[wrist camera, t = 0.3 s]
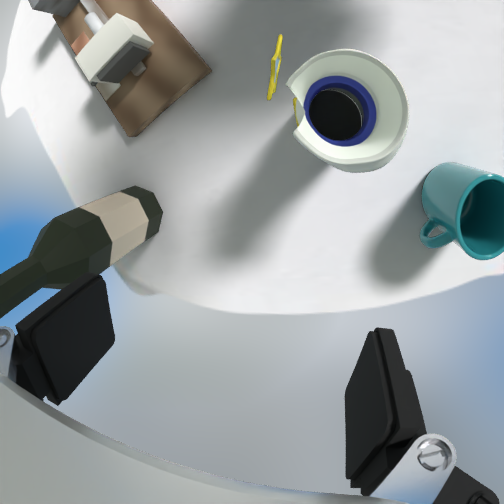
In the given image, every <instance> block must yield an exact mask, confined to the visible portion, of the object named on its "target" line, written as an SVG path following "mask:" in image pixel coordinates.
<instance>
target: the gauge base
mask: <svg viewBox="0 0 504 504" xmlns="http://www.w3.org/2000/svg"><path fill="white" fill-rule="evenodd" d="M28 1H29V3H30V5H31V7H32V9H34V10H38V11H43V12H47V13H51V14H53V18H54V19H55V21H56V23H57V25H58V26H59V28H60V30H61V31H62V33H63V35H64V36H65V38H66V40H67V41H68V43H69V45H70V46H71V48H72V49H73V51H74V53H75V54H76V56H77V55H78V54H79V52H80V51H81V50H82V49H83V48H84V46H85V45H86V44H87V43H88V42H89V41H90V40H91V39H92V37H93V36H94V34H93V32H92V31H91V29H90V28H89V26H88V25H87V24H86V22H85V21H84V18H85V16H86V15H87V14H89V13H91V12H94V13H96V15H97V16H98V17H99V19H100V20H101V22H102V23H103V24H104V25H105V24H106V23H107V22H108V21H109V20H110V19H111V18H112V17H113V16H114V15H115V14H116V13H118V14H120V15H122V16H125V17H127V18H129V19H131V20H133V21H135V22H137V23H138V24H139V25H140V27H141V28H142V29H143V30H144V31H145V33H146V34H147V35H148V36H149V38H150V39H151V40H152V41H153V43H154V44H153V45H152V46H151V47H150V48H149V49H148V50H149V51H150V53H149V54H148V55H147V56H146V57H145V58H144V59H142V60H141V61H140V62H139V63H138V64H137V65H136V66H135V67H134V68H133V69H132V70H131V71H130V72H129V73H128V74H127V75H126V76H125V77H124V78H123V79H122V80H121V81H120V82H119V83H113V84H107V83H99V82H98V83H97V84H96V88H97V89H98V91H99V92H100V94H101V95H102V97H103V99H104V100H105V102H106V103H107V105H108V106H109V108H110V109H111V111H112V112H113V114H114V115H115V117H116V118H117V120H118V121H119V123H120V124H121V126H122V127H123V129H124V130H125V132H126V133H127V135H128V136H129V137H135V136H137V135H139V134H140V133H141V132H142V131H143V130H144V129H145V128H146V127H147V126H148V125H149V124H150V123H151V122H152V121H153V120H154V119H155V118H157V117H158V116H159V115H160V114H161V113H162V112H163V111H164V110H165V109H167V108H168V107H169V106H170V105H171V104H172V103H173V102H175V101H176V100H177V99H178V98H179V97H180V96H182V95H183V94H184V93H185V92H186V91H188V90H189V89H190V88H191V87H193V86H194V85H195V84H196V83H198V82H199V81H200V80H201V79H203V78H204V77H205V76H206V75H208V74H209V73H210V72H212V70H211V69H210V68H209V66H208V65H207V64H206V63H205V61H204V60H203V59H202V58H201V57H200V55H199V54H198V53H197V52H196V50H195V49H194V48H193V47H192V46H191V44H190V43H189V42H188V41H187V40H186V39H185V37H184V36H183V35H182V34H181V33H180V32H179V30H178V29H177V28H176V27H175V26H174V25H173V24H172V22H171V21H170V20H169V19H168V18H167V17H166V16H165V15H164V13H163V12H162V11H161V10H160V9H159V8H158V7H157V6H156V5H155V4H154V3H153V1H152V0H28Z"/></svg>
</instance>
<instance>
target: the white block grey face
mask: <svg viewBox="0 0 504 504" xmlns="http://www.w3.org/2000/svg"><path fill="white" fill-rule="evenodd" d="M84 21H85V22H86V24H87V25H88V26H89V28H90V29H91V31H92V32H93V34H94V36H93V37H92V39H91V40H90V41H89V42H88V43H87V44H86V45H85V46H84V48H83V49H82V50H81V51H80V52H79V54H78V55H77V56H76V57H75V59H76V61H77V63H78V64H79V66H80V68H81V69H82V71H83V72H84V74H85V76H86V77H87V79H88V80H89V81H91V85H92V86H96V84H97V83H98V82H99V83H107V84H113V83H119V82H120V81H121V80H122V79H123V78H124V77H125V76H126V75H127V74H128V73H129V72H130V71H131V70H132V69H133V68H134V67H135V66H136V65H137V64H138V63H139V62H140V61H141V60H142V59H144V58H145V57H146V56H147V55H148V54H149V53H150V51H149V50H148V49H149V48H150V47H151V46H152V45H153V44H154V43H153V41H152V40H151V39H150V38H149V36H148V35H147V34H146V33H145V31H144V30H143V29H142V28H141V27H140V25H139V24H138V23H137V22H135V21H133V20H131V19H129V18H127V17H125V16H122V15H120V14H118V13H116V14H115V15H114V16H113V17H112V18H111V19H110V20H109V21H108V22H107V23H106V24H105V25H104V24H103V23H102V22H101V20H100V19H99V17H98V16H97V15H96V13H94V12H91V13H89V14H87V15H86V16H85V18H84Z"/></svg>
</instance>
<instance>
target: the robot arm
mask: <svg viewBox="0 0 504 504" xmlns="http://www.w3.org/2000/svg"><path fill="white" fill-rule="evenodd" d="M15 326H16V329H17V332H18V334H17V335H16V336H15V334H14V332H13V330H12V329H11V328H9V327H6V326H1V327H0V504H499V499H498V498H497V496H496V494H495V493H494V492H493V491H492V490H490V489H488V488H487V487H485V486H484V485H482V484H481V483H480V482H478V481H476V480H475V479H473V478H472V477H471V476H469V475H468V474H466V473H465V472H463V471H462V470H461V469H459V468H458V467H456V466H455V463H456V460H457V459H456V451H455V448H454V446H453V445H452V443H451V442H450V441H449V440H448V439H446V438H445V437H443V436H441V435H438V434H427V432H426V428H425V424H424V420H423V415H422V411H421V408H420V404H419V400H418V396H417V393H416V389H415V386H414V382H413V378H412V375H411V373H410V371H408V370H406V369H405V365H404V362H403V359H402V355H401V352H400V349H399V345H398V343H397V339H396V336H395V333H394V331H393V330H392V329H385V328H376V329H375V330H374V332H373V331H370V332H369V333H368V335H367V338H366V341H365V343H364V346H363V349H362V351H361V354H360V356H359V359H358V361H357V364H356V366H355V369H354V371H353V373H352V376H351V378H350V381H349V383H348V385H347V388H346V391H345V422H346V479H351V488H361V494H362V495H363V496H358V495H344V494H333V493H318V492H309V491H299V490H292V489H284V488H278V487H272V486H266V485H260V484H254V483H249V482H244V481H239V480H234V479H230V478H226V477H222V476H217V475H213V474H210V473H206V472H203V471H199V470H196V469H192V468H189V467H185V466H182V465H179V464H176V463H173V462H170V461H167V460H164V459H161V458H159V457H156V456H153V455H150V454H147V453H145V452H143V451H140V450H138V449H135V448H133V447H130V446H128V445H126V444H123V443H121V442H119V441H116V440H114V439H112V438H110V437H108V436H105V435H103V434H101V433H99V432H97V431H95V430H93V429H91V428H89V427H87V426H85V425H83V424H81V423H79V422H78V421H76V420H74V419H72V418H70V417H68V416H66V415H65V414H63V413H61V412H60V411H58V410H56V409H54V408H53V407H51V406H50V405H48V404H46V403H45V402H43V398H44V397H45V396H47V399H48V400H49V401H51V402H53V403H54V404H56V405H57V406H58V405H59V404H60V403H61V402H62V401H63V400H66V399H67V398H68V397H69V396H70V395H71V393H72V392H73V391H74V390H75V389H76V387H77V386H78V385H79V384H80V383H81V382H82V380H83V379H84V378H85V377H86V376H87V374H88V373H89V372H90V371H91V370H92V369H93V367H94V366H95V365H96V364H97V363H98V362H99V360H100V359H101V358H102V357H103V356H104V355H105V354H106V352H107V351H108V350H109V349H110V348H111V347H112V345H113V344H114V341H115V334H114V329H113V324H112V319H111V314H110V308H109V302H108V295H107V289H106V283H105V281H104V280H103V278H102V276H101V275H99V274H95V273H92V272H86V273H84V274H83V275H81V276H80V277H79V278H77V279H76V280H74V281H73V282H72V283H70V284H69V285H67V286H66V287H65V288H63V289H62V290H61V291H59V292H58V293H56V294H55V295H54V296H52V297H51V298H50V299H49V300H47V301H46V302H44V303H43V304H42V305H40V306H39V307H38V308H37V309H35V310H34V311H33V312H31V313H30V314H29V315H28V316H26V317H25V318H24V319H23V320H21V321H20V322H19V323H17V324H16V325H15Z"/></svg>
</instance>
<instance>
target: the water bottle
mask: <svg viewBox="0 0 504 504" xmlns="http://www.w3.org/2000/svg"><path fill="white" fill-rule="evenodd" d="M282 39H283V36H282V35H281V34H280V35H279V36H278V41H277V45H276V50H275V54H274V56H273V58H272V59H271V76H270V82H269V88H268V94H267V100H271V97H272V94H273V93H275V91H276V85H277V78H278V72H279V68H280V63H281V59H282V57H281V56H280V54H281V46H282ZM286 86H288V87H289V88H290V89H291V91H292V92H293V93H294V94H295V96H296V97H297V98H294V99H293V105H294V111H295V117H296V122H297V127H298V128H297V129H296V130H295V131H294V132H293V136H294V138H295V139H296V140H297V141H298V142H299V143H300V144H301V145H302V146H303V147H304V148H306V149H307V150H308V151H309V152H311V153H312V154H313V155H315V156H316V157H317V158H319V159H321V160H322V161H324V162H326V163H328V164H330V165H331V166H333V167H335V168H337V169H339V170H342V171H345V172H351V173H360V172H370V171H374V170H377V169H379V168H381V167H383V166H385V165H386V164H387V163H389V162H390V161H391V160H392V159H393V157H394V156H395V155H396V153H397V152H398V150H399V148H400V147H401V145H402V142H403V140H404V138H405V135H406V131H407V127H408V122H409V104H408V99H407V95H406V92H405V90H404V88H403V86H402V84H401V82H400V80H399V79H398V77H397V76H396V75H395V73H394V72H393V71H392V70H391V69H390V68H389V67H388V66H387V65H385V64H384V63H383V62H381V61H380V60H379V59H377V58H376V57H374V56H372V55H370V54H368V53H365V52H362V51H359V50H354V49H338V50H331V51H327V52H323V53H320V54H318V55H316V56H314V57H312V58H310V59H309V60H307V61H306V62H305V63H304V64H303V65H302V66H301V67H300V68H299V69H298V70H296V71H295V72H294V73H293V74H292V75H291V76H290V78H289V79H288V81H287V82H286ZM323 90H334V91H338V92H341V93H343V94H345V95H347V96H348V97H350V98H351V99H352V100H353V101H354V102H355V104H356V105H357V107H358V109H359V111H360V114H361V119H362V126H361V128H360V130H359V131H358V132H357V133H356V134H355V135H354V136H353V137H351V138H349V139H346V140H339V141H338V140H332V139H329V138H327V137H325V136H323V135H322V134H321V133H319V132H318V131H317V130H316V128H315V127H314V126H313V124H312V122H311V119H310V116H309V108H310V104H311V102H312V100H313V98H314V97H315V96H316V95H317V94H318V93H319V92H321V91H323Z"/></svg>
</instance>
